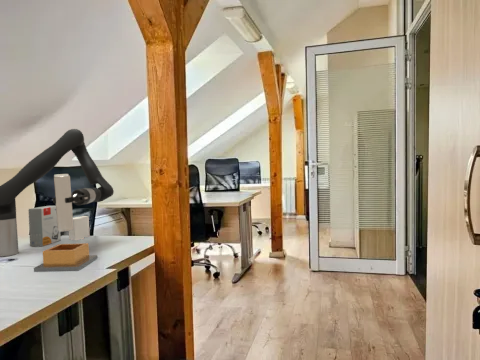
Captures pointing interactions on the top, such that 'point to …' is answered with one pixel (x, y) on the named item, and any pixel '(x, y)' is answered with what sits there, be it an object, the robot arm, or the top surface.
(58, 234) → the hard drive box
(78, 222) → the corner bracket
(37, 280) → the top surface
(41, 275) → the top surface
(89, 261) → the dock
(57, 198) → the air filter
